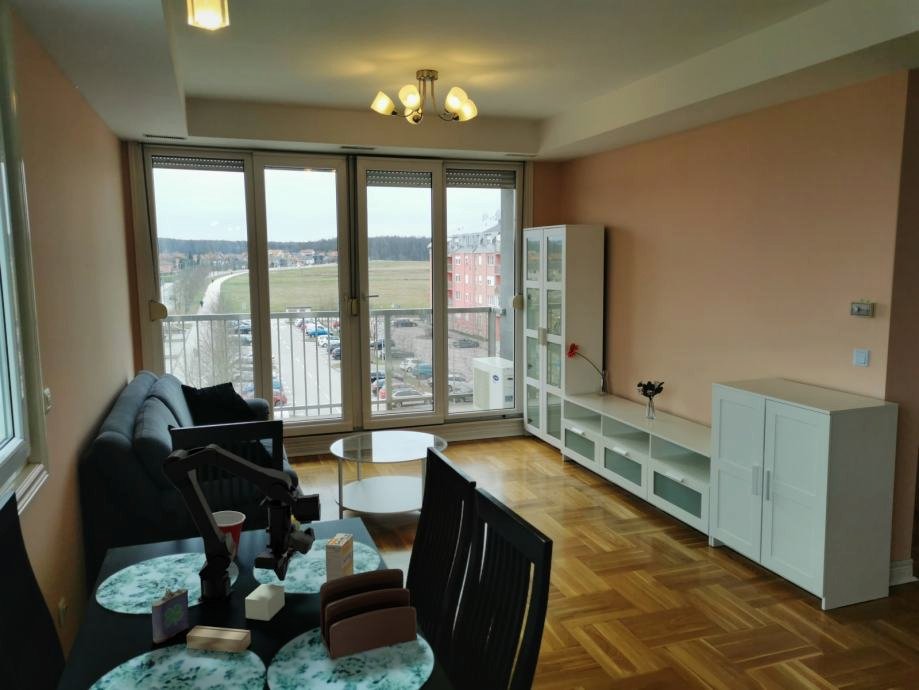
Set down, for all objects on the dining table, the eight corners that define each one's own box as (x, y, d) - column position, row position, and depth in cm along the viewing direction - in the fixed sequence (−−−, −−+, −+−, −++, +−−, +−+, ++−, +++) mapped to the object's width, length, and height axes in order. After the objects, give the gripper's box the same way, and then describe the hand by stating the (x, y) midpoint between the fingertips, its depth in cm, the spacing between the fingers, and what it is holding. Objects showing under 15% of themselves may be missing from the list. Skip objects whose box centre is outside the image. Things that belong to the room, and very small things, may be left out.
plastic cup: (237, 565, 192) (235, 524, 190) (200, 563, 193) (198, 522, 191) (253, 549, 202) (251, 510, 201) (218, 547, 204) (216, 509, 202)
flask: (157, 644, 151) (155, 599, 150) (149, 641, 153) (146, 596, 152) (192, 625, 159) (189, 582, 158) (183, 622, 161) (181, 579, 160)
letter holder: (320, 637, 154) (318, 578, 153) (403, 619, 162) (402, 563, 161) (330, 661, 145) (328, 598, 144) (417, 640, 153) (416, 581, 151)
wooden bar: (187, 647, 150) (186, 634, 150) (197, 638, 154) (196, 625, 154) (242, 653, 148) (241, 639, 148) (250, 643, 152) (250, 629, 151)
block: (245, 618, 163) (245, 598, 162) (262, 602, 171) (262, 583, 170) (268, 621, 162) (267, 601, 161) (284, 605, 169) (284, 586, 169)
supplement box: (343, 595, 174) (342, 546, 172) (326, 593, 175) (324, 544, 173) (354, 580, 182) (353, 533, 181) (338, 578, 183) (336, 532, 181)
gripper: (295, 538, 163) (297, 600, 165) (323, 511, 182) (324, 566, 183) (252, 535, 165) (254, 596, 167) (283, 508, 183) (285, 564, 185)
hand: (282, 580), depth 175 cm, fingers closed
